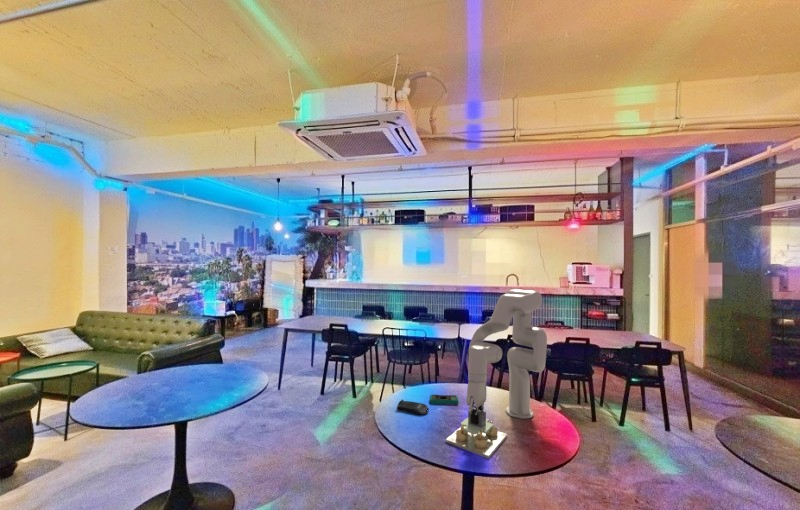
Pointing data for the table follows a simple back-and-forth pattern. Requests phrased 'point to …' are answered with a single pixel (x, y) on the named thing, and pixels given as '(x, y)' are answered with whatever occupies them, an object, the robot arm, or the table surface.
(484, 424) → the board
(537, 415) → the table surface
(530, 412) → the robot arm
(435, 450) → the table surface
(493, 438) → the chassis
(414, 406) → the electronic device
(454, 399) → the digital multimeter
